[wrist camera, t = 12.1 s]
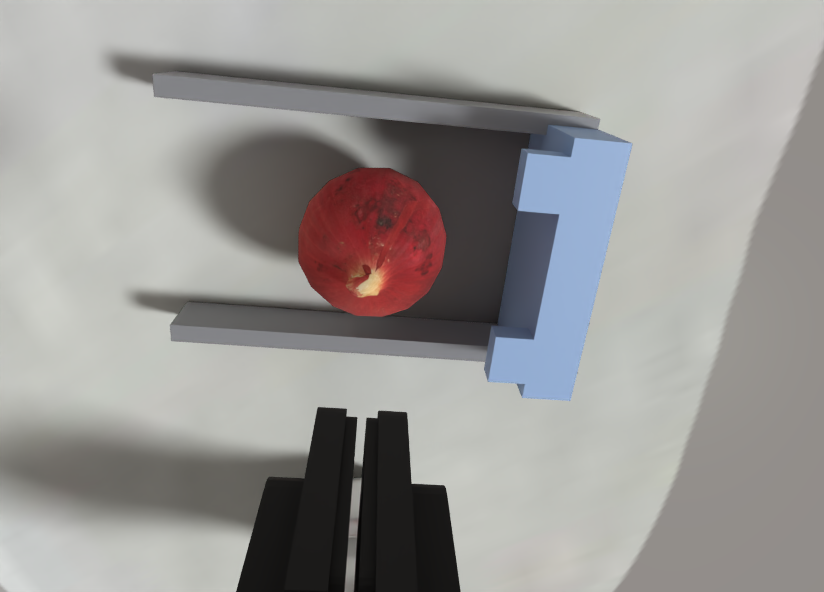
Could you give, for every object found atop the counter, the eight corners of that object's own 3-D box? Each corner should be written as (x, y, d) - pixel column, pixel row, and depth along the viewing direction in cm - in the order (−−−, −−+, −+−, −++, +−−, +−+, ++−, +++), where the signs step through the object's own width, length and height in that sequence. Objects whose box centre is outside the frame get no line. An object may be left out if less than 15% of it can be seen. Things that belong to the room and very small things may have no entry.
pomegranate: (340, 129, 25) (320, 166, 18) (460, 185, 26) (487, 242, 19) (292, 246, 27) (255, 323, 20) (404, 294, 28) (410, 383, 21)
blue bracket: (499, 113, 25) (531, 133, 20) (578, 121, 25) (632, 143, 20) (466, 328, 29) (485, 395, 24) (535, 333, 29) (570, 400, 24)
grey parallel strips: (156, -254, 20) (126, -293, 18) (640, -185, 21) (671, -212, 19) (188, 316, 28) (171, 341, 26) (534, 340, 29) (546, 365, 27)
